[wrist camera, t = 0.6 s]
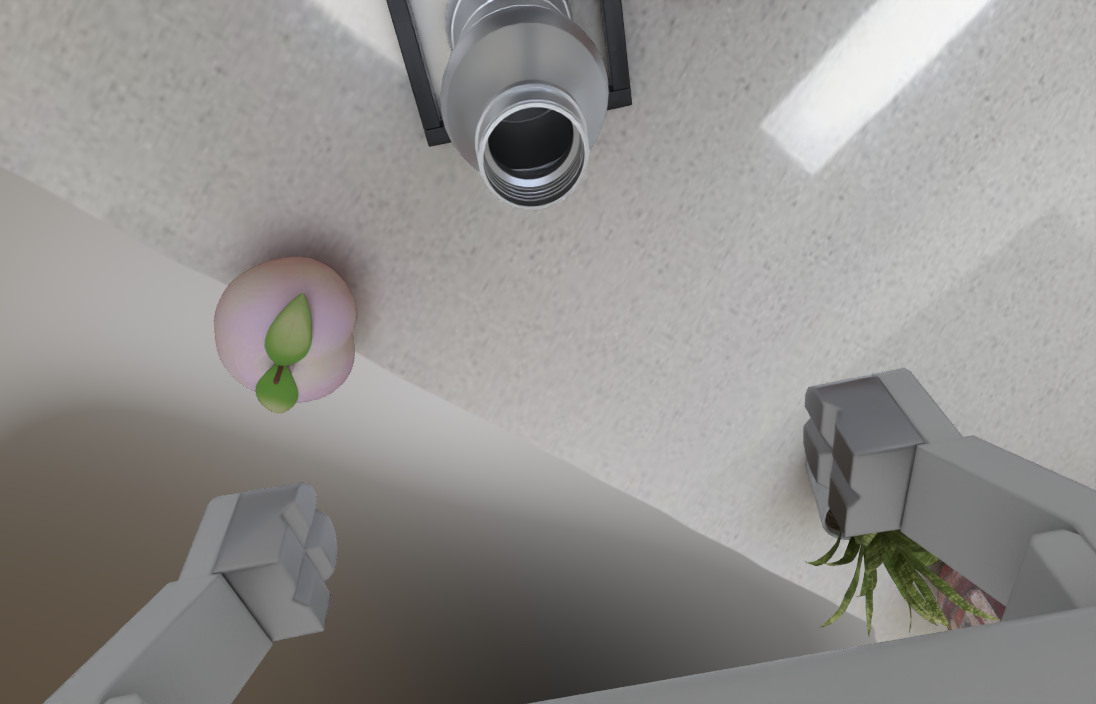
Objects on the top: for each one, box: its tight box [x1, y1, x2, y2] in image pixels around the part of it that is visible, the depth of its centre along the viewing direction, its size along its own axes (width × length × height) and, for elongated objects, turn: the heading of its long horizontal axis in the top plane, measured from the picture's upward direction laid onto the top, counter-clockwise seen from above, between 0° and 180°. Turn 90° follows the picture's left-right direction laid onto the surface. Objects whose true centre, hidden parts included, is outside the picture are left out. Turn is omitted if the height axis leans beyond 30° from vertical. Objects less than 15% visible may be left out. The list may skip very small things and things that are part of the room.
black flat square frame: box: [386, 0, 632, 147], centre depth 39 cm, size 12×12×1 cm
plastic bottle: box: [440, 0, 609, 210], centre depth 31 cm, size 6×7×20 cm
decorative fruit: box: [214, 257, 357, 413], centre depth 44 cm, size 9×8×10 cm
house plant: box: [805, 459, 1000, 635], centre depth 57 cm, size 14×14×16 cm
